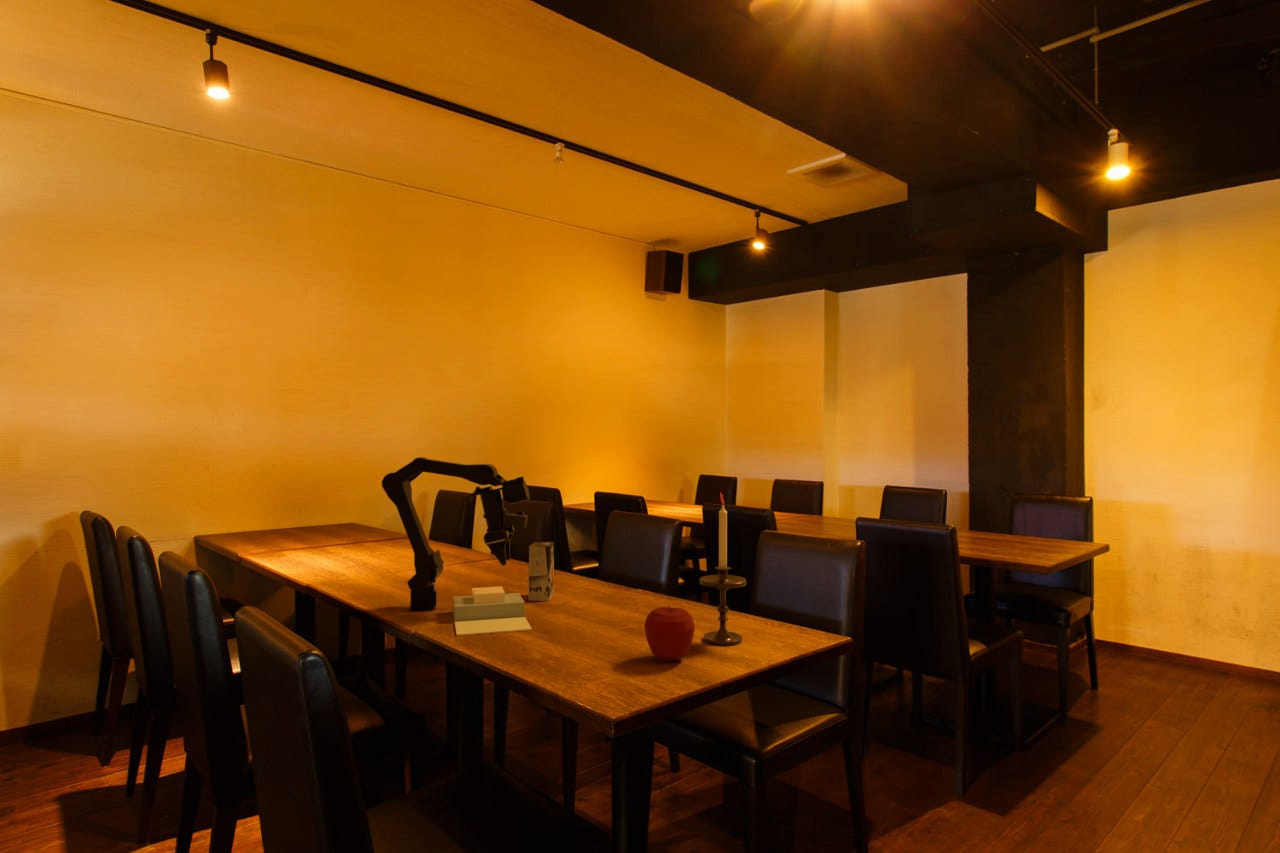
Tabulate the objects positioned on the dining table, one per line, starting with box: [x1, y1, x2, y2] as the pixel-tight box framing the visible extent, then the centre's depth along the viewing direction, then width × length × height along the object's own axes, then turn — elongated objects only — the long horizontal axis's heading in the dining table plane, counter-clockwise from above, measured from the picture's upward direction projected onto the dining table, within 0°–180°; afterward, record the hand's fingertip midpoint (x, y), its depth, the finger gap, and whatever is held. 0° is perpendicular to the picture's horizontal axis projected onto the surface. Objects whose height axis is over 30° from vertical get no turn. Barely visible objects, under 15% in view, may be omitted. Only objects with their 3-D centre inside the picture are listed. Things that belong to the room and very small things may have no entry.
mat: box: [454, 616, 533, 637], centre depth 174 cm, size 18×12×1 cm, turn 107°
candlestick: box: [699, 492, 747, 647], centre depth 164 cm, size 11×11×35 cm
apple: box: [644, 605, 696, 662], centre depth 149 cm, size 11×11×12 cm
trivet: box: [471, 586, 506, 604], centre depth 187 cm, size 8×8×2 cm
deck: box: [452, 592, 526, 623], centre depth 187 cm, size 18×12×4 cm, turn 107°
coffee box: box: [528, 541, 555, 602], centre depth 207 cm, size 9×6×16 cm
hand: (506, 562), depth 193 cm, fingers open, 9 cm apart
